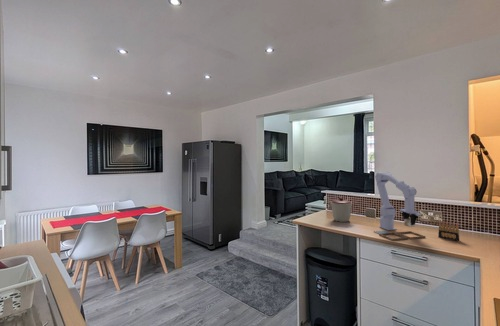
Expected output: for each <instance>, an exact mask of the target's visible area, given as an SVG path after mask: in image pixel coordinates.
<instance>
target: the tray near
mask: <svg viewBox="0 0 500 326" xmlns="http://www.w3.org/2000/svg"><path fill="white" fill-rule="evenodd" d="M378 235H379V236H380V237H382V238H384V239H388V240H390V241H392V242H393V241H405V240H409V239H408V238H407V237H405V236H402V235H399V234H396V232H391V233H382V234H378ZM391 235H395V236H396V237H397V238H395V237H394V238H391V237H388V236H391ZM398 237H399V238H398Z"/></svg>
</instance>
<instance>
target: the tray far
mask: <svg viewBox="0 0 500 326" xmlns="http://www.w3.org/2000/svg"><path fill="white" fill-rule="evenodd" d="M395 233H396V234H399V235H402V236H405V237H407V238H408V240H417V239H426V235H423V234H421V233H418V232H417V233H416V232H414V231H410V230H407V231H397V232H395ZM405 234H412V235H415V236H408V235H405Z"/></svg>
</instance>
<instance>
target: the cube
mask: <svg viewBox="0 0 500 326" xmlns="http://www.w3.org/2000/svg"><path fill="white" fill-rule="evenodd" d="M403 221H404V226H406V227H409V228H413V227H416V224H415V225H411V219H410V218H409V219H404V218H403Z"/></svg>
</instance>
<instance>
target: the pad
mask: <svg viewBox="0 0 500 326" xmlns="http://www.w3.org/2000/svg"><path fill="white" fill-rule="evenodd" d="M373 233H375V234H378V235H379V234H382V233H392V232H391V231H389V230H376V231H375V230H374V231H373Z"/></svg>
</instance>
